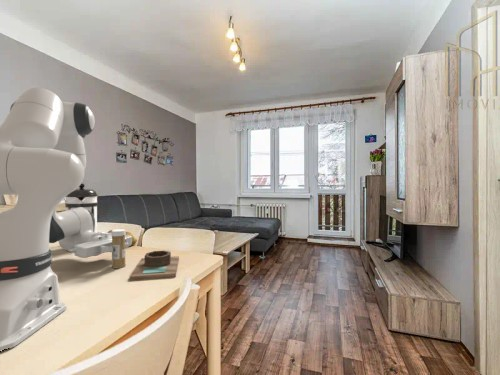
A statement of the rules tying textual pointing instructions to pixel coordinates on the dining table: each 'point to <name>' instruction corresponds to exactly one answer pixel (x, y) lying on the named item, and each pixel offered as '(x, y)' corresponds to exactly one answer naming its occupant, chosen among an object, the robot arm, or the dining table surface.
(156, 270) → the socket board
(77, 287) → the dining table surface
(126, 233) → the bread roll
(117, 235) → the sprinkles bottle
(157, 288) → the dining table surface
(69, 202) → the coffee press
